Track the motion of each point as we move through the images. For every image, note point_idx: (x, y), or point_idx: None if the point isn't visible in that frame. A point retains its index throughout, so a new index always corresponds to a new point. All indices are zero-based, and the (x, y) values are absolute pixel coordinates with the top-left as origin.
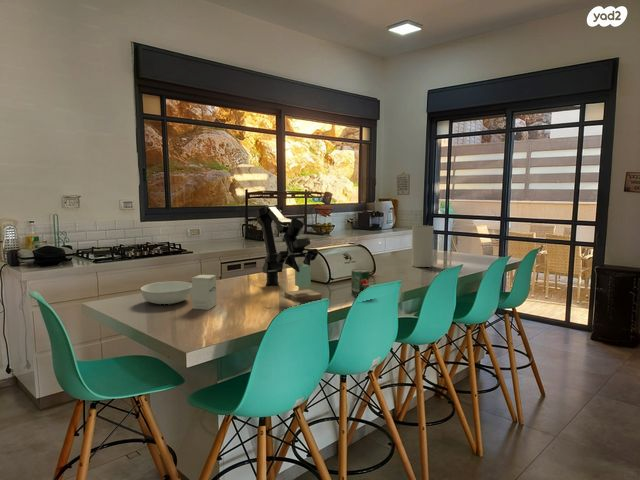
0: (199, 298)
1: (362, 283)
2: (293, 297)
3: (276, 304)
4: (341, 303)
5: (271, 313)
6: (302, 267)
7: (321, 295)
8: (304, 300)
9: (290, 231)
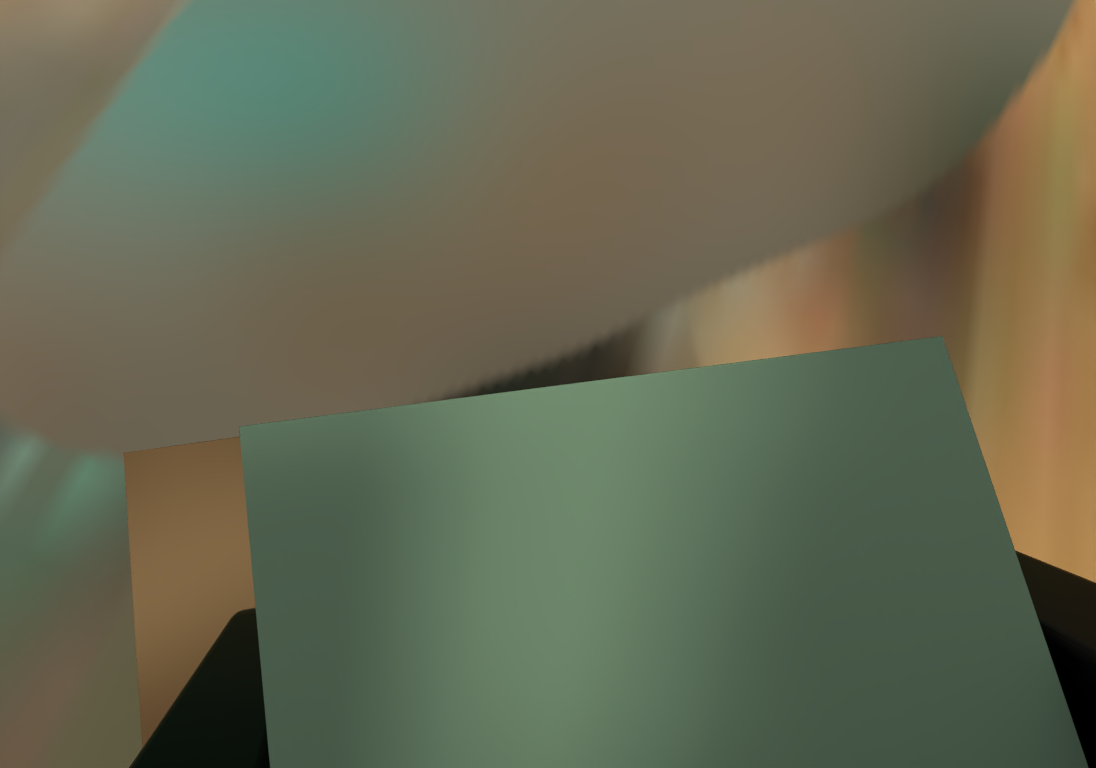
0: None
1: None
2: None
3: (1006, 390)
4: (2, 32)
5: (1086, 20)
6: (791, 368)
7: (137, 460)
8: None
9: None
